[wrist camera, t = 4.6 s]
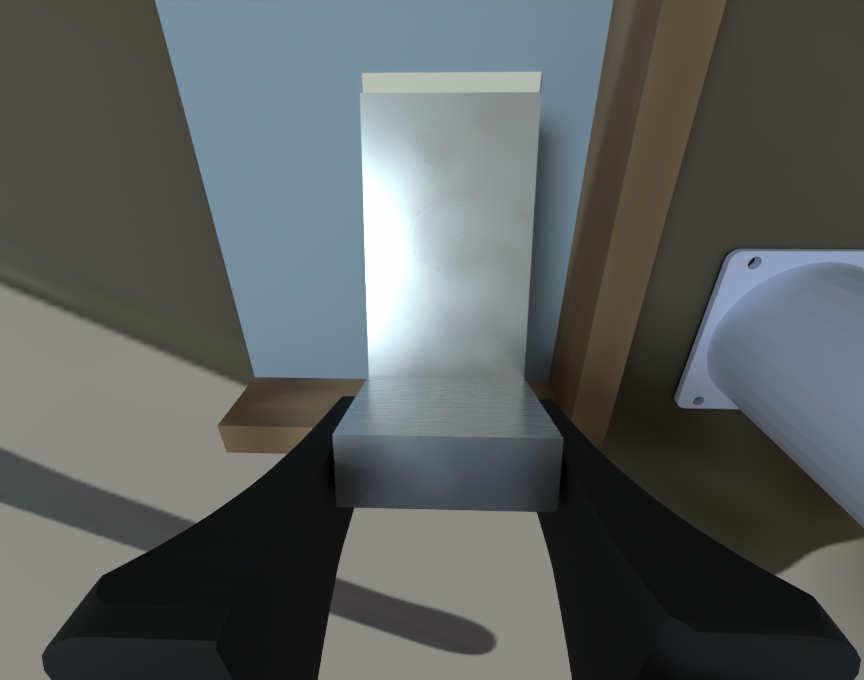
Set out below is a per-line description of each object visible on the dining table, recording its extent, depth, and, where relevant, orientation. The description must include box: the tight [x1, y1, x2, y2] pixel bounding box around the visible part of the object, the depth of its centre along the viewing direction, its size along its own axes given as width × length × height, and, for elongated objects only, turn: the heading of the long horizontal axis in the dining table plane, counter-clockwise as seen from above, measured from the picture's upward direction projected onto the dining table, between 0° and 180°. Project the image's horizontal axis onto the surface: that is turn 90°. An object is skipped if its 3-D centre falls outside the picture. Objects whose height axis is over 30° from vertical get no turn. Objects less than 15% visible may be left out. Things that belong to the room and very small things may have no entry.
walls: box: [218, 0, 727, 454], centre depth 12 cm, size 16×26×4 cm, turn 0°
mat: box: [155, 0, 613, 382], centre depth 14 cm, size 16×26×1 cm, turn 0°
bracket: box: [333, 92, 564, 512], centre depth 11 cm, size 10×5×6 cm, turn 0°
